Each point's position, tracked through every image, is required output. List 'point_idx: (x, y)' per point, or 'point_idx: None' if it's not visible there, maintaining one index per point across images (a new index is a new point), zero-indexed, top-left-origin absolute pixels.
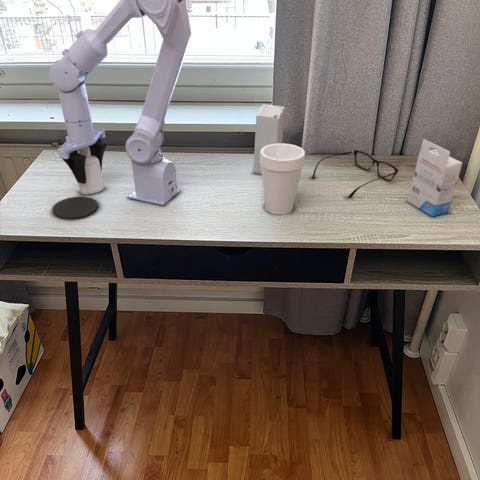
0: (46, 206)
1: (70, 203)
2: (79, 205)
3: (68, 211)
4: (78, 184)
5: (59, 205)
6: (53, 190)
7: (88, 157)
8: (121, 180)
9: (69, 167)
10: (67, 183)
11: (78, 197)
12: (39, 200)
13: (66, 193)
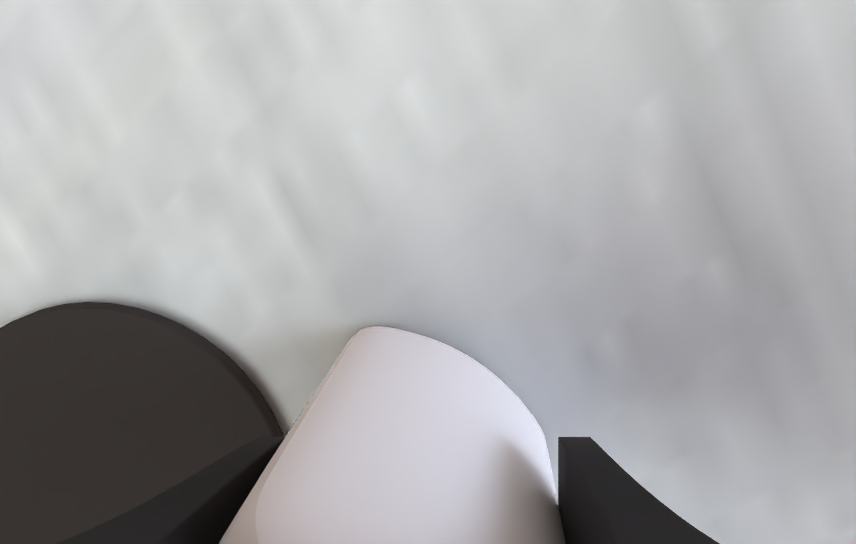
0: (15, 233)
1: (125, 417)
2: (141, 500)
3: (24, 484)
4: (332, 365)
5: (51, 357)
6: (268, 57)
7: None
8: (743, 515)
9: (96, 531)
10: (463, 74)
11: (241, 410)
12: (51, 90)
13: (284, 223)
